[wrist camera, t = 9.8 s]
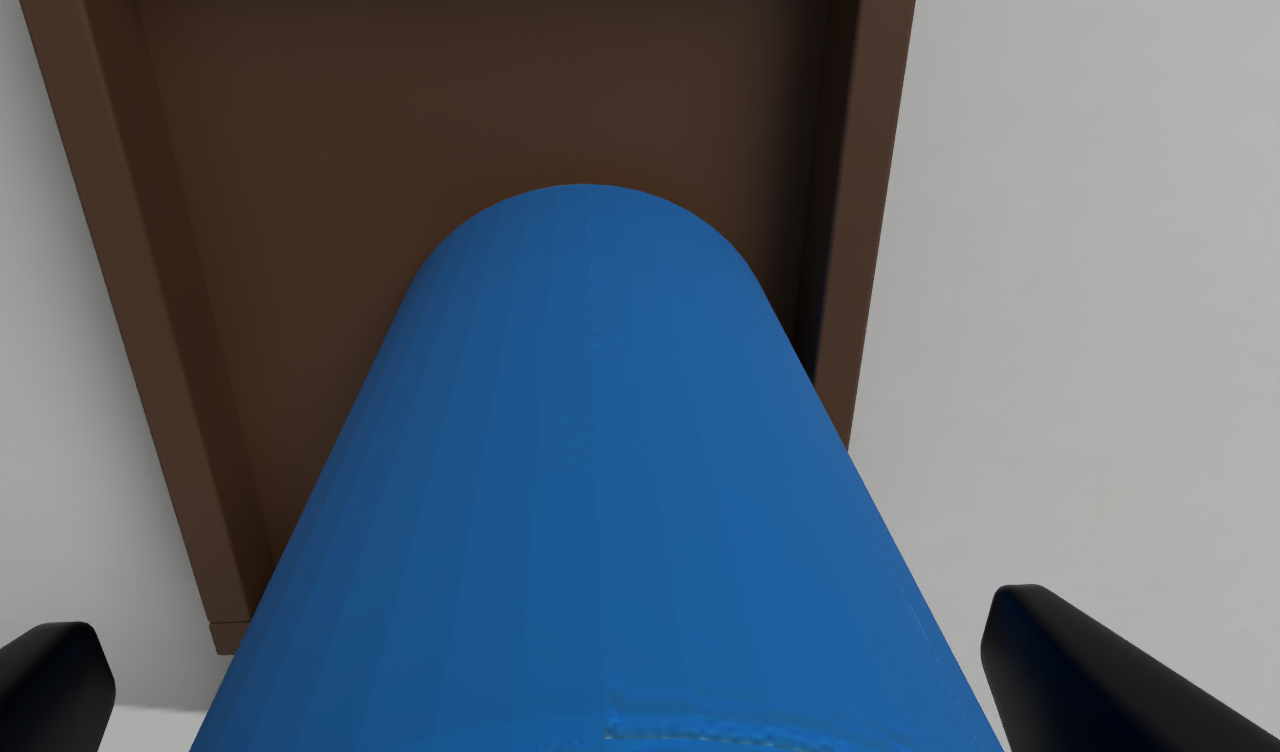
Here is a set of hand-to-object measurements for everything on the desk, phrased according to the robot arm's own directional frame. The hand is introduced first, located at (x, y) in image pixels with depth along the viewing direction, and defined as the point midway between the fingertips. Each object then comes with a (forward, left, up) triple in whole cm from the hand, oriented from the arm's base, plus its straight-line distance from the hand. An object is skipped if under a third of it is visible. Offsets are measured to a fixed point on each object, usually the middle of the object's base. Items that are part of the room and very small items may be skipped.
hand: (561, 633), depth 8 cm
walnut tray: (+1, +1, -8) cm, 8 cm away
